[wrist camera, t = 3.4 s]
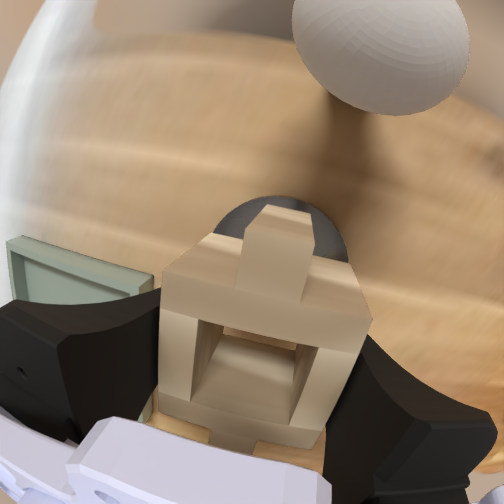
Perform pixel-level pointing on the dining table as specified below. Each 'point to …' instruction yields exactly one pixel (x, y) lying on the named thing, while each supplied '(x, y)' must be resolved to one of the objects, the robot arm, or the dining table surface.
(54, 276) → the tray
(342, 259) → the grey metal round stand
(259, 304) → the beige hollow block
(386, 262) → the dining table surface
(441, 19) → the light bulb
